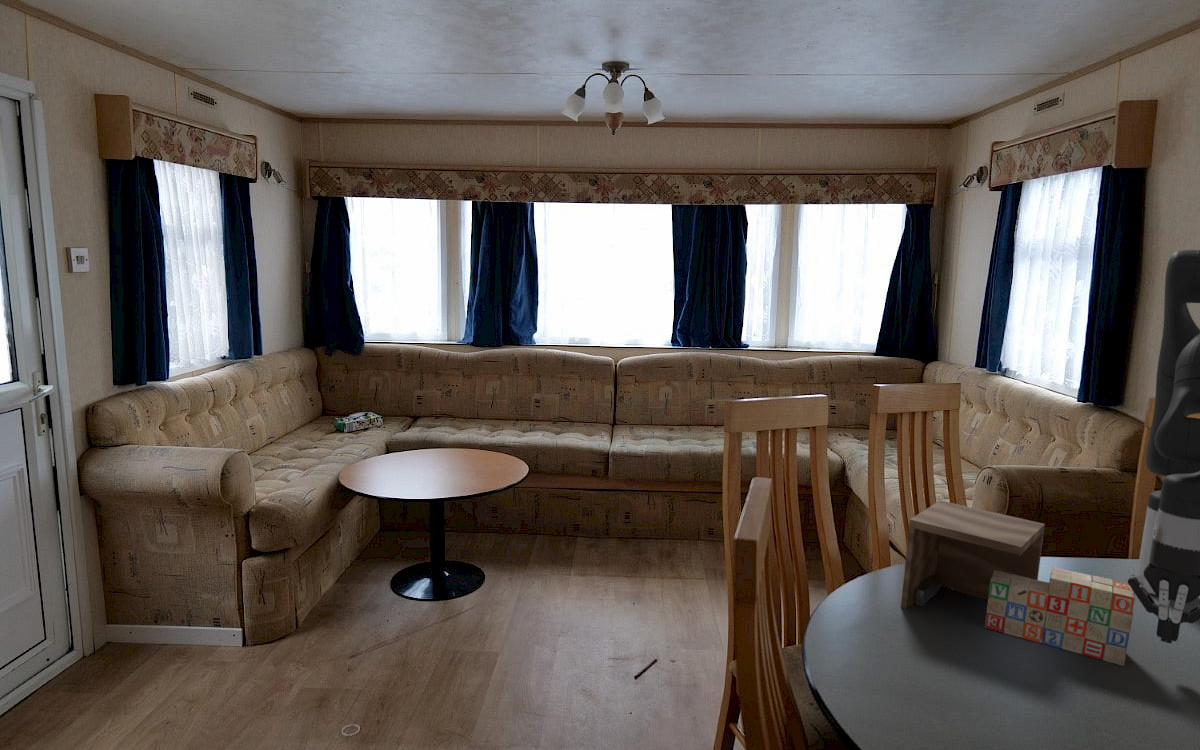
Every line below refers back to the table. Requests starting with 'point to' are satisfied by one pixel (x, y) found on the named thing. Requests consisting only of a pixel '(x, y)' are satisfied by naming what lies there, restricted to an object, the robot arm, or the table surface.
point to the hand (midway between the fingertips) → (1166, 640)
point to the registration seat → (927, 590)
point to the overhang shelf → (968, 549)
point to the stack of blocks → (1064, 612)
